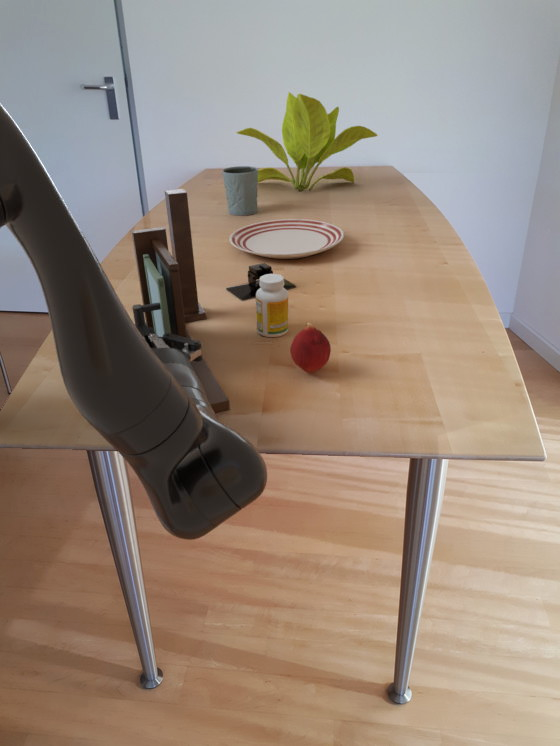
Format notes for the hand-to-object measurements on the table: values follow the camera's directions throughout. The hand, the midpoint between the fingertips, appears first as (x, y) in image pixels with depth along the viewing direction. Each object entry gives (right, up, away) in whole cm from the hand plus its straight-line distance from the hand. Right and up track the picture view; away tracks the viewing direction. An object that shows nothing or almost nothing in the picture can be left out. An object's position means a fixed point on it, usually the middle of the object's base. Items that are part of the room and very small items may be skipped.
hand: (141, 331), depth 76 cm
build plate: (+15, +11, +34) cm, 39 cm away
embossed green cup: (+8, +42, +85) cm, 95 cm away
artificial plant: (+28, +58, +113) cm, 130 cm away
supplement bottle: (+18, +1, +17) cm, 25 cm away
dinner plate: (+21, +25, +56) cm, 65 cm away
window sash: (0, -3, +8) cm, 8 cm away
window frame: (+3, -5, +8) cm, 10 cm away
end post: (+3, +5, +23) cm, 24 cm away
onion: (+24, -6, +5) cm, 25 cm away
